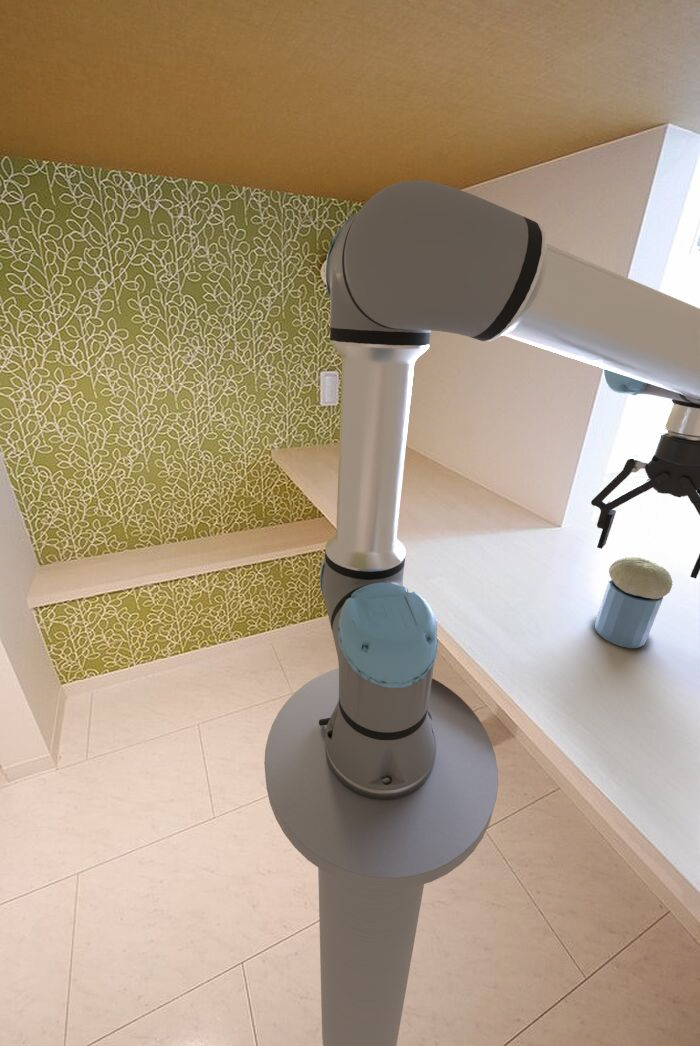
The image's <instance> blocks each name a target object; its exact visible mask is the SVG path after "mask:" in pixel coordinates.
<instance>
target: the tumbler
mask: <svg viewBox="0 0 700 1046" xmlns="http://www.w3.org/2000/svg"><path fill="white" fill-rule="evenodd" d="M663 599H664V597H662V598H659V599H650V598H644V597H641V596H634V595H632V594H629V593H626V592H624V591H622V590H621V589H620V588H619V587H617V586H615V584H614V582H613V581H612V580H611V577H609V579H608V582H607V585H606V587H605V591H604V594H603V598H602V600H601V604H600V606H599V608H598V609H599V610H598V612H597V616H596V619H595V622H594V628H595V631H596V632H597V634H598V635H600V637H601V638H603V639H604V640H606V641H608V642H609V643H611V644H614V645H616V646H619V647H622V648H627V649H638V648H641V647H643V646H644V645H645V644H646V642H647V640H648V637H649V635H650V632H651V630H652V626H653V625H654V622H655V620H656V617H657V615H658V612H659V610H660V607H661V605H662V603H663Z"/></svg>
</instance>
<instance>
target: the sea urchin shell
mask: <svg viewBox="0 0 700 1046" xmlns="http://www.w3.org/2000/svg"><path fill="white" fill-rule="evenodd" d="M608 569H609V570H608V574H609V578H611V580H612V581H613V582H614V584H615V586H617V587H619V588H620V589H621V590H622V591H624V592H626V593H629V594H632V595H634V596H641V597H644V598H650V599H659V598H662V597H663V598H665V596H667V595H669V594H670V592H671V590H672V588H673V585H674V584H673V579H672V576H671V574H670V572H669V571H668V570H667V569H666V568H664V567H663V566H662V565H661V566H660V565H659V564H657V563H655V562H652V561H650V560H648V559H645V558H642V557H634V556H631V557H625V558H620V559H617V560H616V561H613V562H612V564H611V565H610V566H609V568H608Z"/></svg>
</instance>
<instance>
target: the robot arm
mask: <svg viewBox="0 0 700 1046" xmlns="http://www.w3.org/2000/svg"><path fill="white" fill-rule="evenodd" d="M324 267H325V268H324V269H325V270H324V281H325V284H326V291H327V294H328V297H329V300H330V305H329V306H330V307H329V308H330V309H329V311H330V312H329V343H330V345H331V346H332V347H333V348H334V349H335V350H336V352H337V353H338V354H339V355H340V358H341V385H340V386H341V388H340V411H339V412H340V413H339V416H340V417H339V439H338V440H339V443H338V471H337V500H336V501H337V503H336V533H335V534H334V535H333V536H332V537H330V539H328V540H327V541H326V544H325V549H324V559H323V561H322V564H321V567H320V574H319V586H320V590H321V594H322V598H323V599H324V603H325V607H326V612H327V617H328V620H329V624H330V629H331V632H332V637H333V642H334V645H335V650H336V654H337V655H336V656H337V662H338V668H339V701H338V703H337V705H336V707H335V709H334V711H333V713H332V716H331V718H326V719H320V720H319V725H320V726H323V725H327V728H326V733H325V752H326V758H327V761H328V764H329V766H330V768H331V770H332V772H333V773H334V775H335V776H336V778H337V779H338V780H339V781H340V782H341V783H342V784H343V785H344V786H345V787H347V788H348V789H350V790H351V791H353V792H355V793H356V794H358V795H361V796H363V797H367V798H370V799H375V800H393V799H398V798H402V797H405V796H407V795H409V794H411V793H413V792H415V791H416V790H417V789H419V788H420V787H421V786H422V785H423V784H424V783H425V782H426V780H427V779H428V777H429V776H430V774H431V772H432V769H433V766H434V762H435V755H436V737H435V733H434V730H433V727H432V725H431V722H430V719H429V717H430V718H431V720H432V717H431V715H430V713H429V712H428V711H427V710H428V703H429V696H430V689H431V682H432V678H433V674H434V670H435V669H434V668H435V661H436V659H437V653H438V648H439V647H438V646H439V640H438V622H437V618H436V615H435V612H434V611H433V609H432V607H431V606H430V604H429V602H428V601H427V600H425V598H424V597H422V596H421V595H420V594H419V593H417V592H416V591H412V592H411V591H410V592H409V588H408V587H406V586H404V573H405V564H406V554H407V552H406V547H405V546H404V544H403V543H402V542H401V541H400V540H399V539H398V529H399V519H400V517H399V516H400V508H401V507H400V506H401V499H402V497H401V496H402V488H403V479H404V478H403V477H404V468H405V458H406V448H407V438H408V429H409V418H410V410H411V409H410V407H411V399H412V390H413V389H412V388H413V380H414V379H413V378H414V370H415V369H414V368H415V363H416V361H417V360H418V358H420V356H422V355H423V354H424V353H425V352H426V351H427V350H428V349H430V342H431V333H432V332H442V333H449V334H456V335H460V336H463V337H468V338H471V339H475V340H478V341H481V342H483V343H484V342H485V343H489V342H492V341H495V340H497V339H498V338H500V337H501V336H503V337H507V338H510V339H513V340H516V341H519V342H522V343H525V344H528V345H531V346H534V347H537V348H540V349H543V350H546V351H549V352H552V353H556V354H559V355H561V356H564V357H567V358H571V359H574V360H577V361H579V362H583V363H585V364H588V365H592V366H595V367H599V368H600V369H603V378H604V381H605V384H606V385H607V387H608V388H609V389H610V390H611V391H613V392H614V393H618V394H628V395H631V396H637V395H649V396H656V397H659V398H664V399H670V400H671V402H670V404H669V407H668V410H667V413H666V416H665V419H664V422H663V425H662V428H663V430H665V431H663V432H662V433H660V434H659V437H658V440H657V443H656V445H655V448H654V451H653V455H652V457H651V459H650V460H649V461H647V460H645V459H641V458H639V457H638V456H637V455H632V456H630V457H629V458H628V459H627V460H626V462H625V464H624V467H623V469H622V470H621V472H620V473H618V474H617V475H616V476H615V477H614V478H613V479H612V480H611V481H610V482H608V484H607V485H606V486H605V487H604V488H603V489H602V490H601V491H600V492H599V493H598V494H597V495H596V496H594V497H593V499H592V500H591V501H590V503H591V505H592V506H593V507H597V508H598V509H599V510H600V513H599V517H598V519H597V522H596V527H597V528H598V529H601V533H600V536H599V539H598V543H597V546H596V548H598V549H600V550H602V549H603V548H604V546H605V545H606V544H607V541H608V539H609V534H610V532H611V528H612V525H613V522H614V520H615V516H616V514H617V510H615V509H616V508H617V507H620V506H621V505H624V504H625V503H627V502H628V501H630V500H632V499H634V498H635V497H637V496H639V495H641V494H643V493H646V492H647V491H650V490H651V489H654V491H656V492H657V493H658V494H662V495H663V494H664V495H665V494H666V495H667V494H668V495H670V496H673V497H675V498H676V497H677V498H683V497H687V498H688V500H689V501H690V503H691V504H692V505H693V507H694V508H695V510H696V512H697V513H698V515H699V516H700V308H699V307H697V306H695V305H692V304H689V303H688V302H685V301H683V300H680V299H678V298H676V297H674V296H672V295H668V294H666V293H664V292H661V291H659V290H657V289H654V288H652V287H650V286H647V285H645V284H643V283H641V282H638V281H635V280H634V279H631V278H629V277H627V276H624V275H621V274H619V273H616V272H614V271H612V270H610V269H607V268H605V267H603V266H601V265H598V264H596V263H593V262H591V261H588V260H587V259H584V258H582V257H579V256H577V255H574V254H573V253H571V252H568V251H565V250H563V249H561V248H558V247H556V246H553V245H551V244H549V243H547V241H546V235H545V231H544V228H543V226H542V225H541V224H540V223H539V222H536V221H535V220H533V219H530V218H528V217H525V216H523V215H521V214H519V213H517V212H514V211H512V210H509V209H507V208H505V207H503V206H500V205H499V204H496V203H494V202H491V201H489V200H487V199H484V198H482V197H480V196H477V195H475V194H472V193H469V192H467V191H464V190H461V189H458V188H455V187H452V186H450V185H448V184H443V183H439V182H435V181H430V180H424V179H423V180H422V179H414V180H403V181H400V182H396V183H393V184H390V185H388V186H386V187H385V188H383V189H381V190H379V191H378V192H376V193H375V194H374V195H372V197H370V198H369V199H368V200H367V201H366V202H365V203H364V204H363V205H362V207H361V208H360V210H358V211H357V212H355V214H353V215H352V216H350V217H349V218H348V219H347V220H346V221H345V222H344V223H343V224H342V226H341V227H340V228H339V229H338V231H337V232H336V234H335V236H334V237H333V240H332V242H331V245H330V246H329V249H328V252H327V256H326V260H325V266H324ZM641 469H644V471H645V473H646V476H647V478H646V479H645V480H643V481H642V482H639V483H638V484H636V485H634V486H633V487H632V488H630V489H628V490H627V491H624V492H622V493H621V494H619V495H617V496H616V497H614V498H611V499H610V500H607V499H606V498H607V497H608V496H609V495H610V494H611V493H612V492H613V491H614V490H616V488H617V487H619V486H620V485H621V484H622V483H623V482H624V481H625V480H626V479H627V478H628V477H629V476H630V475H631V474H632V473H637V472H639V471H640V470H641ZM699 573H700V553H699V554H698V557H697V559H696V561H695V564H694V566H693V568H692V570H691V574H690V578H693V579H695V580H696V579H697V577H698V575H699Z"/></svg>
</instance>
